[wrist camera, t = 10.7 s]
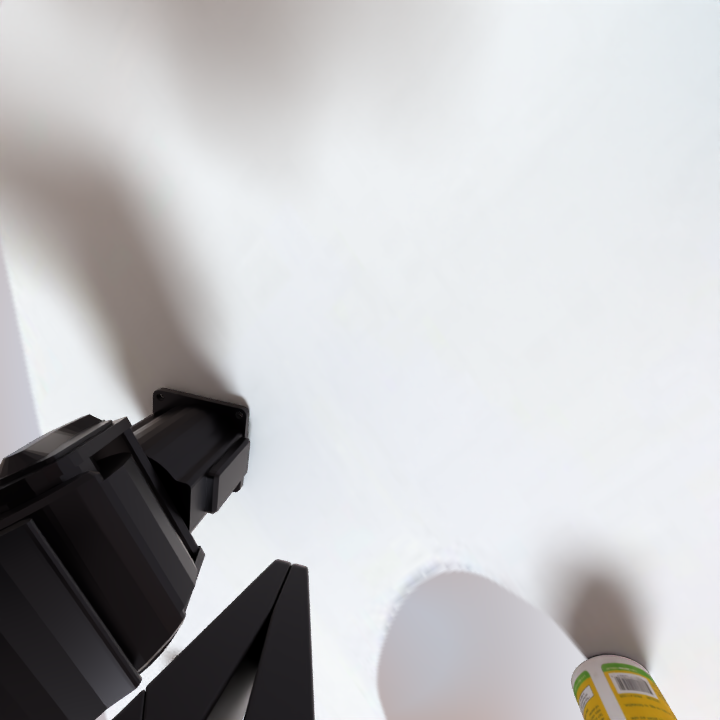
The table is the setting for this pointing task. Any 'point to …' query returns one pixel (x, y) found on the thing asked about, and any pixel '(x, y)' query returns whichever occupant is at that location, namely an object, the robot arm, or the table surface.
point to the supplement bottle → (618, 691)
